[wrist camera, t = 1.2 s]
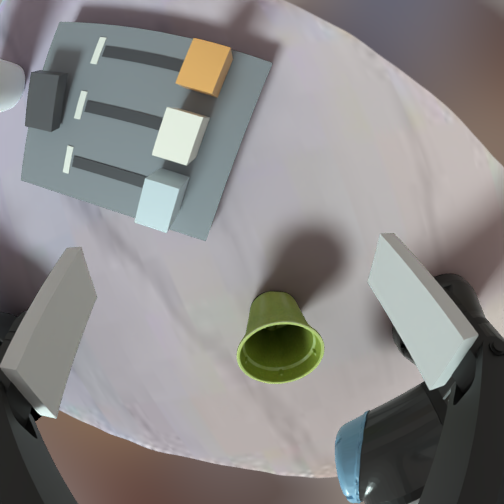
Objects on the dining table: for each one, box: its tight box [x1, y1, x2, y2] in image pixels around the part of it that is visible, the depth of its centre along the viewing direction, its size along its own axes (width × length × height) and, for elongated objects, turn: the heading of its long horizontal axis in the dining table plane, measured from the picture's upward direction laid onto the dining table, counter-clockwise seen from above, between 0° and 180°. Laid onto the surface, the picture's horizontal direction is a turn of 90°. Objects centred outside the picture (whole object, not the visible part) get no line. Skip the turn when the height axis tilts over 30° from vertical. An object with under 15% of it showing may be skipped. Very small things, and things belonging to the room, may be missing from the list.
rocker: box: [25, 70, 68, 132], centre depth 22 cm, size 4×6×2 cm, turn 160°
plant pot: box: [237, 291, 324, 384], centre depth 35 cm, size 9×9×9 cm
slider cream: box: [152, 107, 210, 166], centre depth 24 cm, size 3×4×5 cm
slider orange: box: [176, 38, 233, 98], centre depth 22 cm, size 3×4×5 cm
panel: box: [21, 22, 273, 241], centre depth 27 cm, size 24×19×4 cm
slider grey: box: [135, 168, 190, 233], centre depth 26 cm, size 3×4×5 cm
